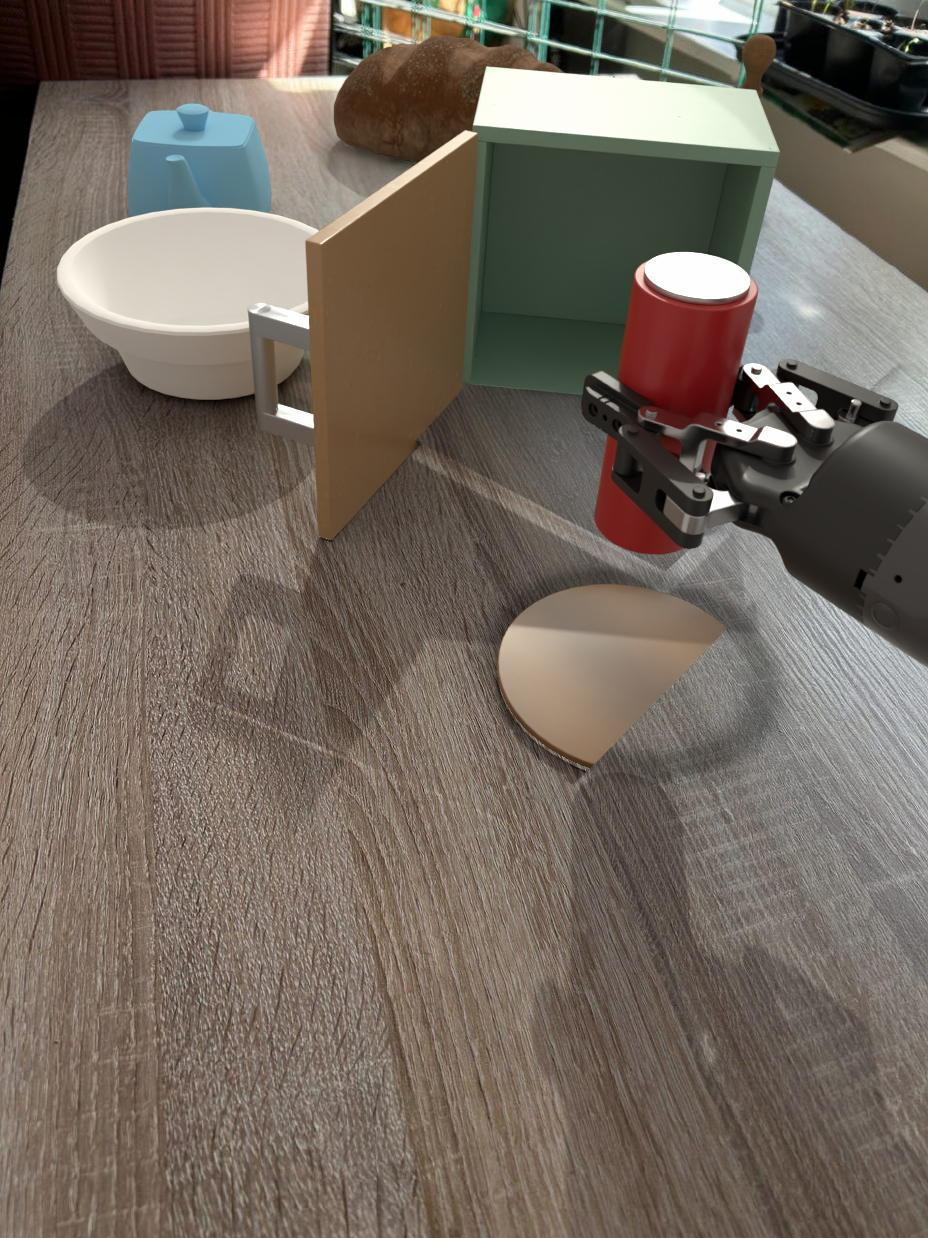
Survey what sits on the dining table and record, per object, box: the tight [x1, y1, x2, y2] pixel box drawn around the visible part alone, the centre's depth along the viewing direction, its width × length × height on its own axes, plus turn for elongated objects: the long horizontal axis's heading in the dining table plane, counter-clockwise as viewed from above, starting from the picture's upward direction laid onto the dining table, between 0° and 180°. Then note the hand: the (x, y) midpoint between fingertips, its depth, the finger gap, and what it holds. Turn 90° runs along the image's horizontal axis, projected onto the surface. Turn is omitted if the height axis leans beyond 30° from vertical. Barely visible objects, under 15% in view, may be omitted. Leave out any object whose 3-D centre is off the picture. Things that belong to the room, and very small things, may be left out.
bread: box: [333, 35, 565, 163], centre depth 118 cm, size 16×29×11 cm, turn 85°
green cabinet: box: [462, 67, 781, 396], centre depth 81 cm, size 13×20×20 cm, turn 85°
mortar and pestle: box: [738, 33, 777, 100], centre depth 103 cm, size 7×6×18 cm
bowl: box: [56, 208, 320, 401], centre depth 81 cm, size 21×21×8 cm
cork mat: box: [496, 583, 728, 769], centre depth 61 cm, size 15×15×1 cm
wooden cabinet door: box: [248, 130, 478, 541], centre depth 69 cm, size 6×20×20 cm, turn 155°
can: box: [593, 252, 759, 556], centre depth 51 cm, size 5×5×14 cm
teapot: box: [127, 103, 273, 218], centre depth 96 cm, size 12×18×12 cm
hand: (634, 373), depth 52 cm, fingers closed on can, 5 cm apart
